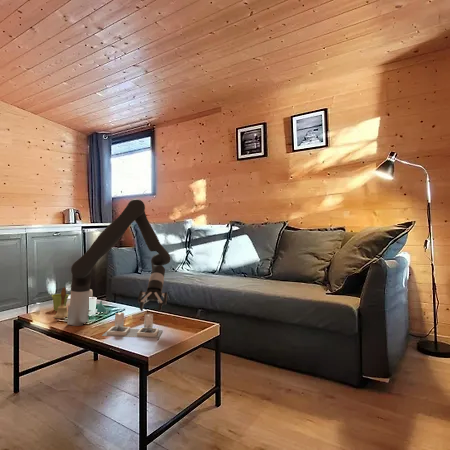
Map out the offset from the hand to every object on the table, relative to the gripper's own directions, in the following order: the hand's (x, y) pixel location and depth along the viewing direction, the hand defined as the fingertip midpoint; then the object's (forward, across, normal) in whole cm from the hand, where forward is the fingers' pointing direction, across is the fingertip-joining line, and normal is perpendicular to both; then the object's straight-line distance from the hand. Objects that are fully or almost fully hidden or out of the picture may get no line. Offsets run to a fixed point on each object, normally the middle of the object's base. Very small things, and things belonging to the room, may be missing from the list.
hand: (150, 310), depth 171 cm
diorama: (-16, -32, +33) cm, 48 cm away
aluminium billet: (+9, 0, +5) cm, 11 cm away
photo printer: (-23, -49, +39) cm, 67 cm away
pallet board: (+10, -7, +6) cm, 13 cm away
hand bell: (-8, -53, +25) cm, 59 cm away
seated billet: (+10, -14, +5) cm, 18 cm away
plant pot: (-19, -61, +36) cm, 73 cm away
